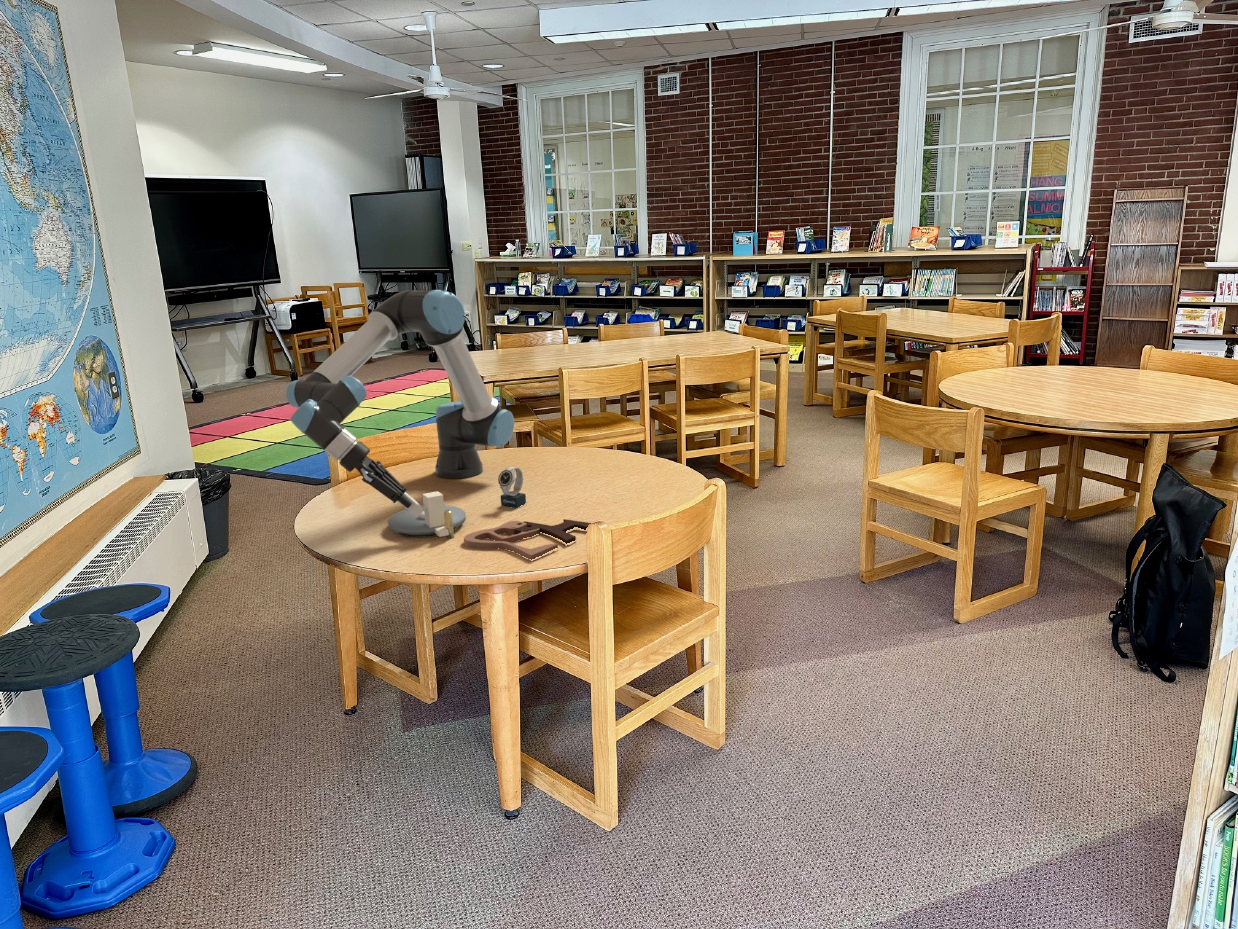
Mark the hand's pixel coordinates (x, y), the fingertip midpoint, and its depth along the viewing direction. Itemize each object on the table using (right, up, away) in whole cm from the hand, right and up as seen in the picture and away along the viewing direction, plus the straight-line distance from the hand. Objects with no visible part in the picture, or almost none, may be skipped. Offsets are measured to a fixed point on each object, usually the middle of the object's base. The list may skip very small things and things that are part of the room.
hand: (420, 513), depth 213 cm
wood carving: (+28, -7, -1) cm, 29 cm away
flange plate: (+1, -3, +7) cm, 8 cm away
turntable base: (0, -4, +9) cm, 10 cm away
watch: (+21, +1, +25) cm, 32 cm away
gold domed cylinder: (+7, -6, +1) cm, 10 cm away
